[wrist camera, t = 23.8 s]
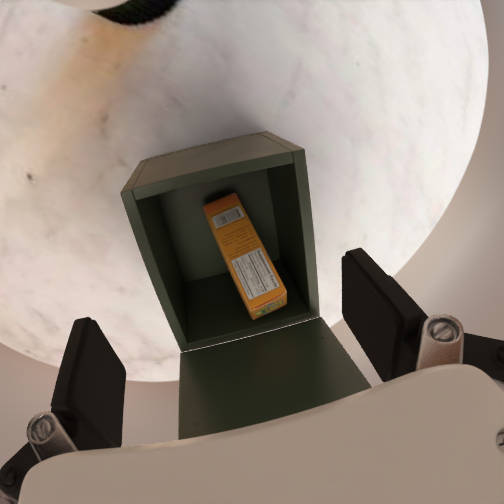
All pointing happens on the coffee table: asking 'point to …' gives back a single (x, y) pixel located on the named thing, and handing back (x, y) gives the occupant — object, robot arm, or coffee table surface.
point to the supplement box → (245, 256)
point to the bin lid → (263, 378)
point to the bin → (203, 241)
